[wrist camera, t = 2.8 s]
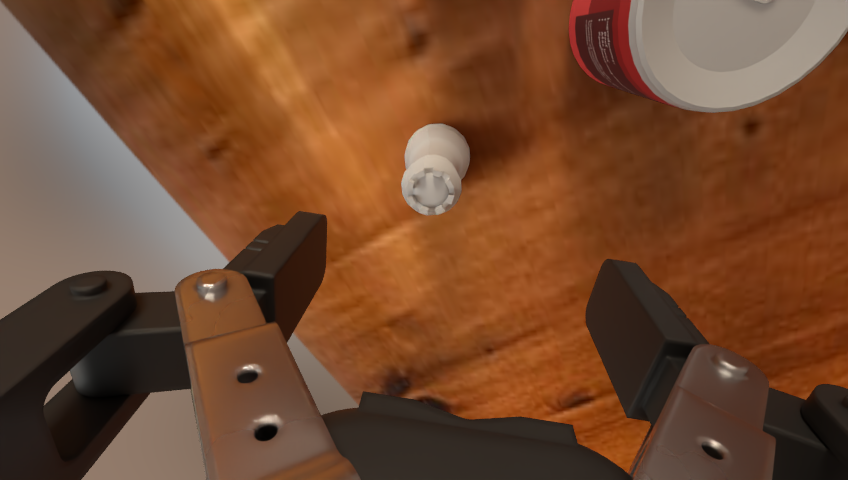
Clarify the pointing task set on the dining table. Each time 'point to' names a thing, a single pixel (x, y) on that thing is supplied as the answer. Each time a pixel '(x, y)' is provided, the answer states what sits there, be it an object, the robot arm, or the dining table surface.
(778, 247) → the dining table surface
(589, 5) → the canned food
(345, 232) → the dining table surface
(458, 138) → the rook chess piece
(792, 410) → the robot arm
